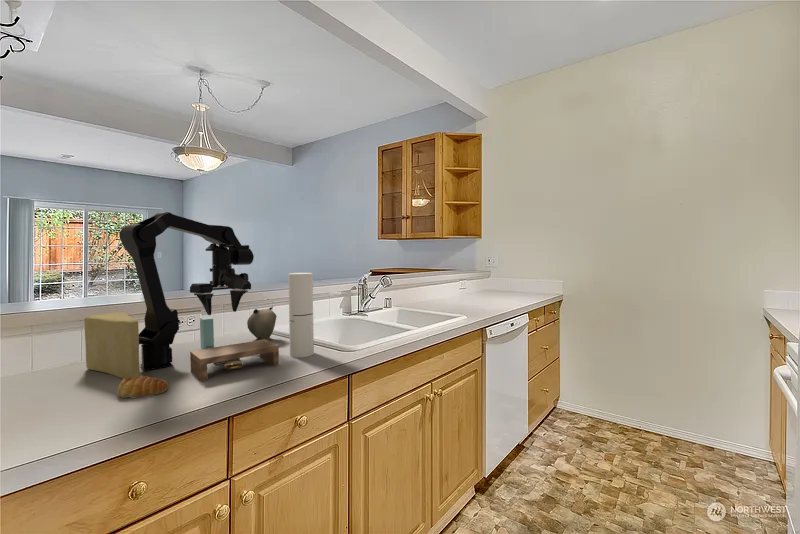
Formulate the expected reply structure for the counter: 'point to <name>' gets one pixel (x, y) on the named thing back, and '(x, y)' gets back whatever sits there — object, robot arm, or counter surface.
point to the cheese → (112, 344)
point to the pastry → (141, 387)
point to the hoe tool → (209, 336)
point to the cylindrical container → (301, 314)
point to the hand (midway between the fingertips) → (222, 313)
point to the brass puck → (233, 365)
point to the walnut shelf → (232, 355)
